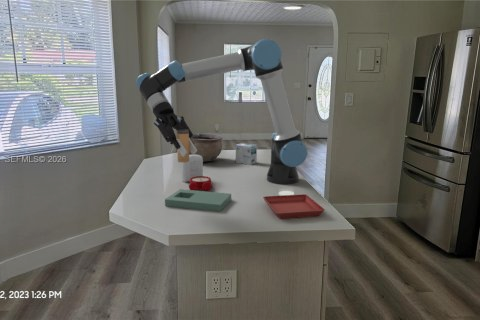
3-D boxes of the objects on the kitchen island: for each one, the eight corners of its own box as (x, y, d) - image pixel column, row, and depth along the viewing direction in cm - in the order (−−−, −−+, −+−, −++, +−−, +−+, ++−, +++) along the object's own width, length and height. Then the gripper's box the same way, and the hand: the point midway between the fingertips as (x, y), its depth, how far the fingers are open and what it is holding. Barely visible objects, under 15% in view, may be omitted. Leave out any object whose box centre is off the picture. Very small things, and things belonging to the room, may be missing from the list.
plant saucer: (325, 218, 130) (325, 209, 130) (276, 221, 127) (276, 212, 126) (305, 201, 148) (306, 193, 147) (262, 204, 144) (262, 196, 143)
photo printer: (200, 177, 181) (199, 152, 178) (204, 179, 178) (204, 154, 175) (180, 180, 175) (180, 155, 173) (184, 182, 172) (184, 156, 169)
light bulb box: (256, 163, 214) (257, 144, 212) (251, 165, 209) (251, 146, 206) (241, 160, 220) (241, 142, 217) (235, 162, 214) (235, 144, 212)
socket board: (231, 199, 148) (231, 193, 148) (220, 211, 135) (220, 204, 134) (180, 194, 154) (180, 189, 153) (165, 205, 141) (164, 199, 140)
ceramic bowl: (202, 155, 234) (202, 131, 231) (230, 160, 221) (230, 135, 218) (177, 161, 216) (176, 136, 213) (205, 166, 204) (205, 139, 200)
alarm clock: (212, 175, 171) (212, 176, 156) (212, 189, 171) (212, 191, 156) (189, 176, 170) (187, 177, 155) (189, 189, 170) (187, 192, 155)
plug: (191, 160, 144) (190, 129, 141) (186, 162, 140) (185, 131, 137) (180, 159, 145) (179, 129, 143) (175, 161, 141) (174, 130, 138)
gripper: (173, 112, 155) (201, 156, 148) (138, 114, 142) (167, 163, 135) (182, 99, 151) (211, 144, 144) (146, 101, 137) (176, 150, 131)
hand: (189, 153), depth 139 cm, fingers closed on plug, 4 cm apart
